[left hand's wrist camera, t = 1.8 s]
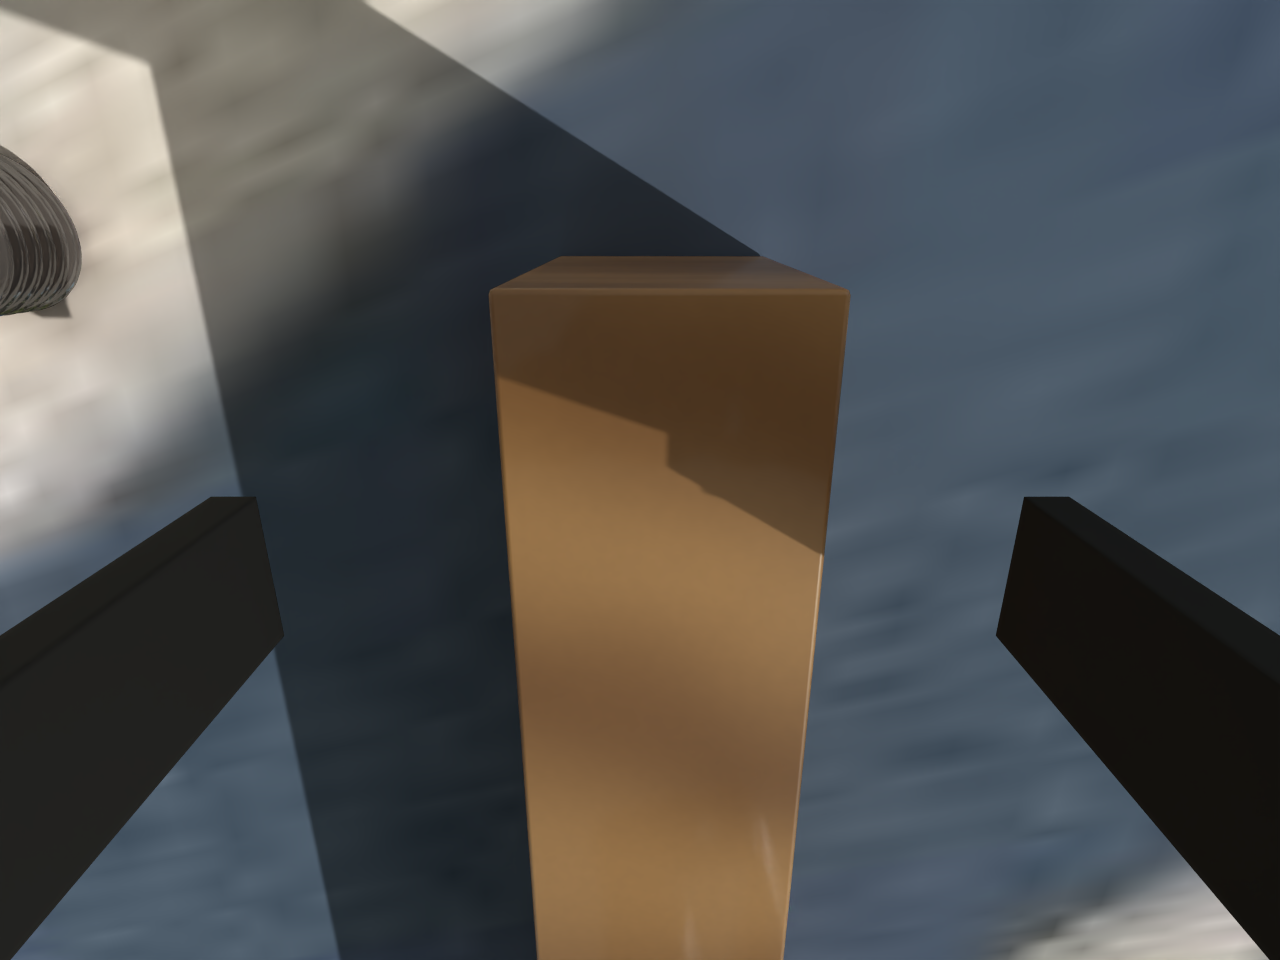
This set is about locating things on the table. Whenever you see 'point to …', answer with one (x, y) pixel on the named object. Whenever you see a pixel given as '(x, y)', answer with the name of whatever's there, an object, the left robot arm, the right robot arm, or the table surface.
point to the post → (665, 588)
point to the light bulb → (34, 243)
